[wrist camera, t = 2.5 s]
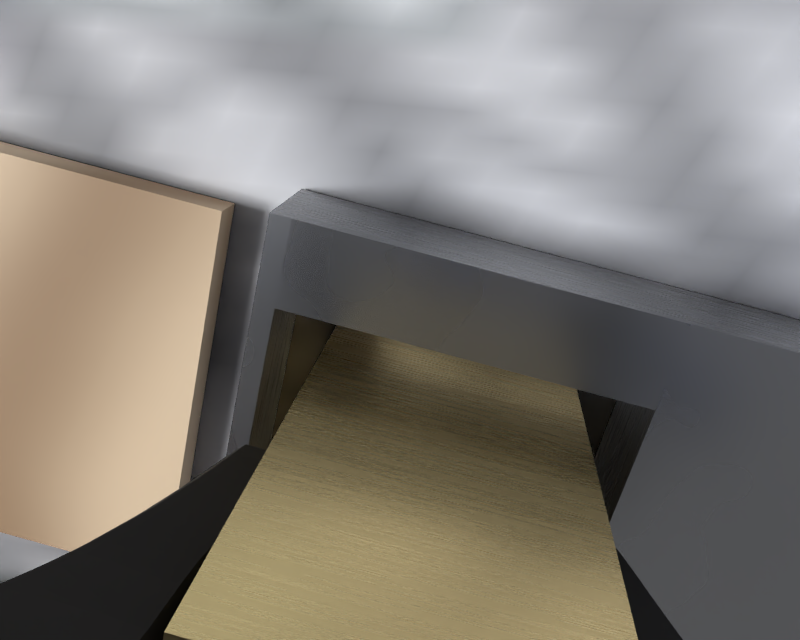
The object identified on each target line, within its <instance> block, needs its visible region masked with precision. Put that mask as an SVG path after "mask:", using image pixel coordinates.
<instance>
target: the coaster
mask: <svg viewBox="0 0 800 640" xmlns="http://www.w3.org/2000/svg"><path fill="white" fill-rule="evenodd" d="M234 205H235V203H231V202H227V201H223V200H220V199H216V198H212V197H208V196H205V195H201V194H197V193H193V192H189V191H186V190H182V189H178V188H174V187H171V186H167V185H163V184H159V183H155V182H152V181H148V180H144V179H140V178H137V177H133V176H129V175H125V174H121V173H118V172H114V171H110V170H106V169H103V168H99V167H95V166H91V165H87V164H84V163H80V162H76V161H72V160H69V159H65V158H61V157H57V156H53V155H50V154H46V153H42V152H38V151H34V150H31V149H27V148H23V147H19V146H16V145H12V144H8V143H4V142H0V532H2V533H6V534H9V535H13V536H17V537H20V538H24V539H27V540H31V541H35V542H38V543H42V544H45V545H49V546H53V547H56V548H60V549H63V550H67V551H70V552H71V551H73V550H75V549H77V548H79V547H81V546H83V545H84V544H86V543H88V542H90V541H92V540H94V539H95V538H97V537H99V536H101V535H103V534H104V533H106V532H108V531H110V530H112V529H113V528H115V527H117V526H119V525H121V524H122V523H124V522H126V521H128V520H129V519H131V518H133V517H135V516H136V515H138V514H140V513H141V512H143V511H145V510H146V509H148V508H150V507H151V506H153V505H154V504H156V503H157V502H159V501H161V500H162V499H164V498H165V497H167V496H169V495H170V494H172V493H173V492H175V491H176V490H178V489H180V488H181V487H183V486H184V485H186V484H187V483H189V482H190V478H191V472H192V466H193V460H194V454H195V447H196V441H197V435H198V429H199V423H200V416H201V410H202V404H203V398H204V391H205V385H206V379H207V373H208V367H209V360H210V354H211V348H212V342H213V336H214V329H215V323H216V317H217V311H218V304H219V298H220V292H221V286H222V280H223V273H224V267H225V261H226V255H227V248H228V242H229V236H230V230H231V224H232V217H233V211H234Z"/></svg>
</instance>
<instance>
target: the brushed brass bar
mask: <svg viewBox="0 0 800 640" xmlns="http://www.w3.org/2000/svg"><path fill="white" fill-rule="evenodd" d="M163 640H638V637H637V633H636V629H635V625H634V621H633V617H632V613H631V609H630V605H629V601H628V597H627V593H626V589H625V584H624V580H623V576H622V572H621V568H620V564H619V560H618V556H617V552H616V548H615V544H614V540H613V536H612V531H611V527H610V523H609V519H608V515H607V511H606V507H605V503H604V499H603V495H602V491H601V487H600V483H599V478H598V474H597V470H596V466H595V462H594V458H593V454H592V450H591V446H590V442H589V438H588V434H587V430H586V425H585V421H584V417H583V413H582V409H581V405H580V401H579V397H578V393H577V389H574V388H570V387H567V386H563V385H559V384H555V383H552V382H548V381H544V380H540V379H537V378H533V377H529V376H526V375H522V374H518V373H514V372H511V371H507V370H503V369H499V368H496V367H492V366H488V365H484V364H481V363H477V362H473V361H470V360H466V359H462V358H458V357H455V356H451V355H447V354H443V353H440V352H436V351H432V350H428V349H425V348H421V347H417V346H414V345H410V344H406V343H402V342H399V341H395V340H391V339H387V338H384V337H380V336H376V335H373V334H369V333H365V332H361V331H358V330H354V329H350V328H346V327H343V326H339V325H337V326H336V327H335V329H334V331H333V333H332V334H331V336H330V338H329V340H328V342H327V343H326V345H325V347H324V349H323V350H322V352H321V354H320V356H319V358H318V359H317V361H316V363H315V365H314V366H313V368H312V370H311V372H310V374H309V375H308V377H307V379H306V381H305V382H304V384H303V386H302V388H301V390H300V391H299V393H298V395H297V397H296V398H295V400H294V402H293V404H292V406H291V407H290V409H289V411H288V413H287V414H286V416H285V418H284V420H283V422H282V423H281V425H280V427H279V429H278V430H277V432H276V434H275V436H274V438H273V439H272V441H271V443H270V445H269V446H268V448H267V450H266V452H265V454H264V455H263V457H262V459H261V461H260V463H259V464H258V466H257V468H256V470H255V471H254V473H253V475H252V477H251V479H250V480H249V482H248V484H247V486H246V487H245V489H244V491H243V493H242V495H241V496H240V498H239V500H238V502H237V503H236V505H235V507H234V509H233V511H232V512H231V514H230V516H229V518H228V519H227V521H226V523H225V525H224V527H223V528H222V530H221V532H220V534H219V535H218V537H217V539H216V541H215V543H214V544H213V546H212V548H211V550H210V551H209V553H208V555H207V557H206V559H205V560H204V562H203V564H202V566H201V567H200V569H199V571H198V573H197V575H196V576H195V578H194V580H193V582H192V583H191V585H190V587H189V589H188V591H187V592H186V594H185V596H184V598H183V599H182V601H181V603H180V605H179V607H178V608H177V610H176V612H175V614H174V615H173V617H172V619H171V621H170V623H169V624H168V626H167V628H166V630H165V631H164V636H163Z"/></svg>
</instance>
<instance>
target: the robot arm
mask: <svg viewBox="0 0 800 640" xmlns="http://www.w3.org/2000/svg"><path fill="white" fill-rule="evenodd" d="M265 452H266V450H265V449H261V448H258V447H254V446H250V445H247V444H245V445H244V446H242V447H240V448H238V449H236V450H235V451H233V452H232V453H230V454H229V455H228V456H226V457H225V458H223V459H222V460H221V461H219V462H218V463H216V464H215V465H213V466H212V467H211V468H209V469H208V470H206V471H205V472H203V473H202V474H200V475H199V476H198V477H196V478H195V479H193V480H192V481H190V482H189V483H187V484H186V485H184V486H183V487H181V488H180V489H178V490H176V491H175V492H173V493H172V494H170V495H169V496H167V497H165V498H164V499H162V500H161V501H159V502H157V503H156V504H154V505H153V506H151V507H150V508H148V509H146V510H145V511H143V512H141V513H140V514H138V515H136V516H135V517H133V518H131V519H129V520H128V521H126V522H124V523H122V524H121V525H119V526H117V527H115V528H113V529H112V530H110V531H108V532H106V533H104V534H103V535H101V536H99V537H97V538H95V539H94V540H92V541H90V542H88V543H86V544H84V545H83V546H81V547H79V548H77V549H75V550H73V551H71V552H69V553H67V554H65V555H63V556H61V557H59V558H57V559H55V560H53V561H50V562H48V563H46V564H44V565H42V566H40V567H37V568H35V569H33V570H31V571H28V572H26V573H24V574H22V575H19V576H17V577H15V578H12V579H10V580H8V581H5V582H3V583H0V640H163V636H164V631H165V630H166V628H167V626H168V624H169V623H170V621H171V619H172V617H173V615H174V614H175V612H176V610H177V608H178V607H179V605H180V603H181V601H182V599H183V598H184V596H185V594H186V592H187V591H188V589H189V587H190V585H191V583H192V582H193V580H194V578H195V576H196V575H197V573H198V571H199V569H200V567H201V566H202V564H203V562H204V560H205V559H206V557H207V555H208V553H209V551H210V550H211V548H212V546H213V544H214V543H215V541H216V539H217V537H218V535H219V534H220V532H221V530H222V528H223V527H224V525H225V523H226V521H227V519H228V518H229V516H230V514H231V512H232V511H233V509H234V507H235V505H236V503H237V502H238V500H239V498H240V496H241V495H242V493H243V491H244V489H245V487H246V486H247V484H248V482H249V480H250V479H251V477H252V475H253V473H254V471H255V470H256V468H257V466H258V464H259V463H260V461H261V459H262V457H263V455H264V454H265ZM615 548H616V547H615ZM616 552H617V556H618V560H619V564H620V568H621V572H622V576H623V580H624V584H625V589H626V593H627V597H628V601H629V605H630V609H631V613H632V617H633V621H634V625H635V629H636V633H637V637H638V640H683V639H682V638H681V636H680V635H679V634H678V632H677V631H676V630H675V628H674V627H673V625H672V624H671V623H670V621H669V620H668V619H667V617H666V616H665V614H664V613H663V612H662V610H661V609H660V607H659V606H658V605H657V603H656V602H655V601H654V599H653V598H652V596H651V595H650V594H649V592H648V591H647V589H646V588H645V586H644V585H643V584H642V582H641V581H640V579H639V578H638V577H637V575H636V574H635V572H634V571H633V570H632V568H631V567H630V566H629V564H628V563H627V561H626V560H625V559H624V557H623V556H622V555H621V553H620V552H619V551H618V550H617V548H616Z"/></svg>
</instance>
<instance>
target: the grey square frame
mask: <svg viewBox="0 0 800 640" xmlns="http://www.w3.org/2000/svg"><path fill="white" fill-rule="evenodd" d="M296 314H298V315H302V316H305V317H309V318H313V319H317V320H320V321H324V322H328V323H331V324H335V325H339V326H343V327H346V328H350V329H354V330H358V331H361V332H365V333H369V334H373V335H376V336H380V337H384V338H387V339H391V340H395V341H399V342H402V343H406V344H410V345H414V346H417V347H421V348H425V349H428V350H432V351H436V352H440V353H443V354H447V355H451V356H455V357H458V358H462V359H466V360H470V361H473V362H477V363H481V364H484V365H488V366H492V367H496V368H499V369H503V370H507V371H511V372H514V373H518V374H522V375H526V376H529V377H533V378H537V379H540V380H544V381H548V382H552V383H555V384H559V385H563V386H567V387H570V388H574V389H578V390H581V391H585V392H589V393H593V394H596V395H600V396H604V397H608V398H611V399H615V400H617V401H616V404H615V406H614V409H613V412H612V414H611V417H610V419H609V422H608V425H607V427H606V430H605V432H604V435H603V438H602V440H601V443H600V445H599V448H598V451H597V453H596V456H595V458H594V462H595V466H596V470H597V474H598V478H599V483H600V487H601V491H602V495H603V499H604V503H605V507H606V511H607V515H608V519H609V523H610V527H611V531H612V536H613V540H614V544H615V547H616V548H617V550H618V551H619V552H620V553H621V555H622V556H623V557H624V559H625V560H626V561H627V563H628V564H629V566H630V567H631V568H632V570H633V571H634V572H635V574H636V575H637V577H638V578H639V579H640V581H641V582H642V584H643V585H644V586H645V588H646V589H647V591H648V592H649V594H650V595H651V596H652V598H653V599H654V601H655V602H656V603H657V605H658V606H659V607H660V609H661V610H662V612H663V613H664V614H665V616H666V617H667V619H668V620H669V621H670V623H671V624H672V625H673V627H674V628H675V630H676V631H677V632H678V634H679V635H680V636H681V638H682V639H683V640H800V320H798V319H794V318H790V317H786V316H783V315H779V314H775V313H771V312H767V311H764V310H760V309H756V308H752V307H748V306H745V305H741V304H737V303H733V302H729V301H726V300H722V299H718V298H714V297H711V296H707V295H703V294H699V293H695V292H692V291H688V290H684V289H680V288H676V287H673V286H669V285H665V284H661V283H657V282H654V281H650V280H646V279H642V278H638V277H635V276H631V275H627V274H623V273H619V272H616V271H612V270H608V269H604V268H600V267H597V266H593V265H589V264H585V263H581V262H578V261H574V260H570V259H566V258H562V257H559V256H555V255H551V254H547V253H544V252H540V251H536V250H532V249H528V248H525V247H521V246H517V245H513V244H509V243H506V242H502V241H498V240H494V239H490V238H487V237H483V236H479V235H475V234H471V233H468V232H464V231H460V230H456V229H452V228H449V227H445V226H441V225H437V224H433V223H430V222H426V221H422V220H418V219H414V218H411V217H407V216H403V215H399V214H396V213H392V212H388V211H384V210H380V209H377V208H373V207H369V206H365V205H361V204H358V203H354V202H350V201H346V200H342V199H339V198H335V197H331V196H327V195H323V194H320V193H316V192H312V191H308V190H304V189H301V190H300V191H298V192H297V193H296V194H294V195H293V196H292V197H290V198H289V199H288V200H286V201H285V202H284V203H282V204H281V205H279V206H278V207H277V208H275V209H274V210H273V211H271V212H270V214H269V220H268V225H267V231H266V236H265V242H264V248H263V253H262V259H261V264H260V270H259V275H258V281H257V287H256V292H255V298H254V303H253V309H252V315H251V320H250V326H249V331H248V337H247V343H246V348H245V354H244V359H243V365H242V370H241V376H240V382H239V387H238V393H237V398H236V404H235V410H234V415H233V421H232V426H231V432H230V438H229V443H228V449H227V454H226V456H228V455H229V454H230V453H232V452H233V451H235V450H236V449H238V448H240V447H242V446H244V445H245V444H247V445H250V446H254V447H258V448H261V449H265V450H267V448H268V446H269V445H270V442H271V437H272V432H273V427H274V422H275V417H276V412H277V407H278V402H279V397H280V393H281V388H282V383H283V378H284V373H285V368H286V363H287V358H288V353H289V348H290V343H291V338H292V333H293V328H294V323H295V318H296Z"/></svg>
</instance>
